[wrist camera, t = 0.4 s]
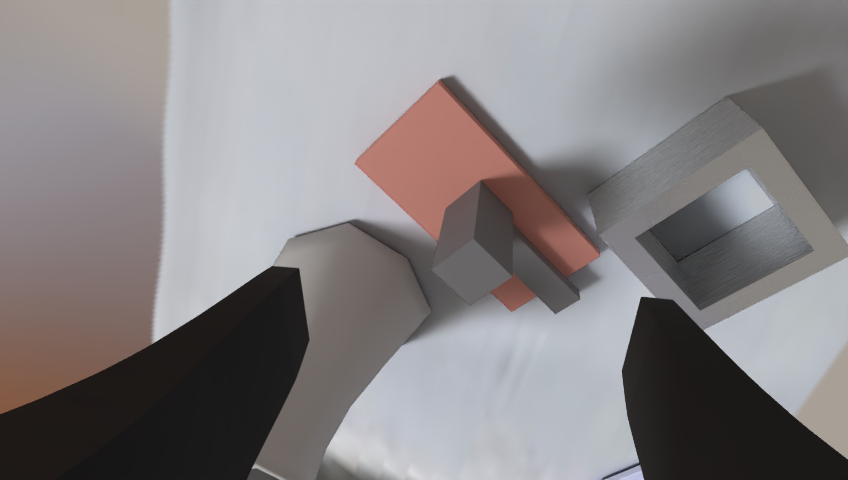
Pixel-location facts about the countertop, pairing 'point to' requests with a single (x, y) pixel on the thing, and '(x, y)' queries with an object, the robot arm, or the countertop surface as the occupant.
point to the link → (735, 251)
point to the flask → (338, 340)
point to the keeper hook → (477, 206)
